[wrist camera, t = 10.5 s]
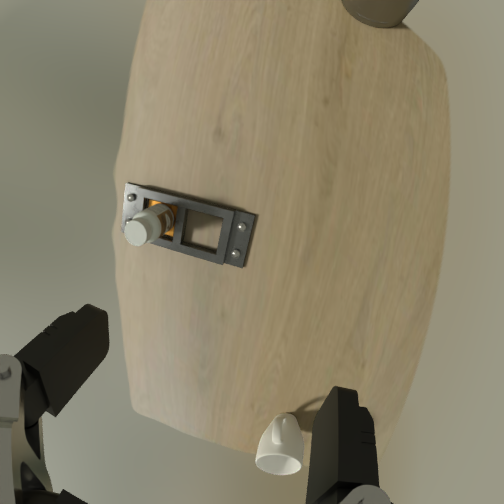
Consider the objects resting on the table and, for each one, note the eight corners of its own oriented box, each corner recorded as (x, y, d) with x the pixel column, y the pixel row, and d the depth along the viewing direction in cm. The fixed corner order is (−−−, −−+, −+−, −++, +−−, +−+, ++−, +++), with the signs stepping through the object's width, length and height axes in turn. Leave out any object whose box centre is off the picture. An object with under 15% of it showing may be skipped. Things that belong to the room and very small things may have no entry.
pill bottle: (172, 235, 45) (148, 254, 38) (147, 227, 45) (119, 244, 38) (177, 207, 43) (152, 221, 36) (150, 199, 44) (122, 212, 36)
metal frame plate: (127, 182, 44) (122, 184, 42) (255, 215, 42) (253, 217, 41) (122, 231, 47) (118, 233, 45) (242, 267, 45) (241, 270, 44)
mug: (307, 431, 55) (302, 476, 45) (267, 430, 57) (258, 474, 47) (305, 393, 52) (300, 442, 41) (260, 393, 53) (248, 441, 43)
